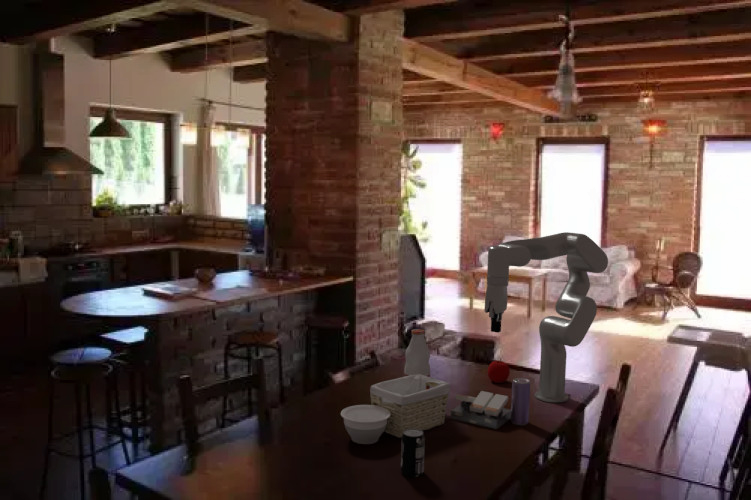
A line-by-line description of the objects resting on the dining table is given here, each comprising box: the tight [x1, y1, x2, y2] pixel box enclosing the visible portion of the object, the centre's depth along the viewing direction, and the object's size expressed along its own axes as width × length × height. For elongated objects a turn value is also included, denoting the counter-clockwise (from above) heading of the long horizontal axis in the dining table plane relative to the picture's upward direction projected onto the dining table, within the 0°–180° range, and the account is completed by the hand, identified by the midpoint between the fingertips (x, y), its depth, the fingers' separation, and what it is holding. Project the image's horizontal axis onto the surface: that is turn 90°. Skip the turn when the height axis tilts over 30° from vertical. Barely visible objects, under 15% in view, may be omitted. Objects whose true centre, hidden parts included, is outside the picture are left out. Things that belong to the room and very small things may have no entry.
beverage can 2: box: [510, 377, 531, 426], centre depth 235 cm, size 6×6×15 cm
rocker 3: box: [484, 393, 509, 416], centre depth 236 cm, size 10×4×2 cm, turn 146°
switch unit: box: [450, 400, 511, 430], centre depth 239 cm, size 13×17×5 cm
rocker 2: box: [470, 390, 495, 413], centre depth 239 cm, size 10×4×2 cm, turn 146°
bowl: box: [340, 404, 390, 445], centre depth 219 cm, size 16×16×8 cm
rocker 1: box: [455, 393, 476, 402], centre depth 242 cm, size 10×4×2 cm, turn 147°
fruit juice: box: [403, 328, 431, 390], centre depth 251 cm, size 9×9×28 cm
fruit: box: [486, 357, 511, 384], centre depth 282 cm, size 9×9×10 cm
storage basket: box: [369, 374, 450, 438], centre depth 230 cm, size 24×16×15 cm
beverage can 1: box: [400, 428, 426, 478], centre depth 194 cm, size 7×7×12 cm
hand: (495, 331), depth 244 cm, fingers closed
